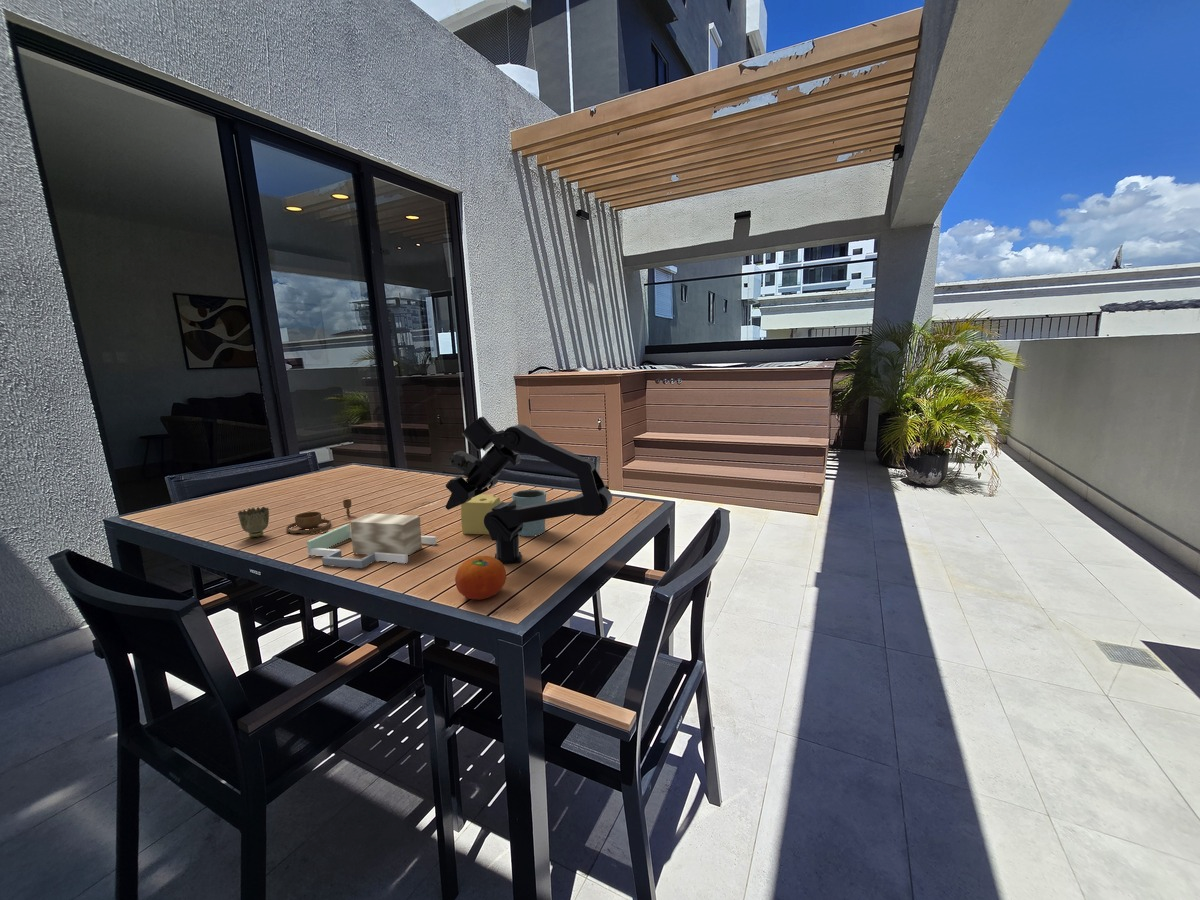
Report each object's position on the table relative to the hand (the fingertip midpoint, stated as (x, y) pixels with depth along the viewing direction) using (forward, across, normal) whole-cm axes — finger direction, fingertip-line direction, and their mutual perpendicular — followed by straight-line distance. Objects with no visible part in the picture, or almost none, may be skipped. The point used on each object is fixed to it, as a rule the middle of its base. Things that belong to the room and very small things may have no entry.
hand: (453, 504), depth 125 cm
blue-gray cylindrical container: (+1, -22, +19) cm, 29 cm away
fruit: (-2, +20, +22) cm, 30 cm away
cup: (+55, -3, -36) cm, 66 cm away
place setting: (+48, -16, -28) cm, 57 cm away
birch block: (+24, 0, -4) cm, 24 cm away
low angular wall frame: (+26, 0, -6) cm, 26 cm away
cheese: (+11, -22, +8) cm, 26 cm away
